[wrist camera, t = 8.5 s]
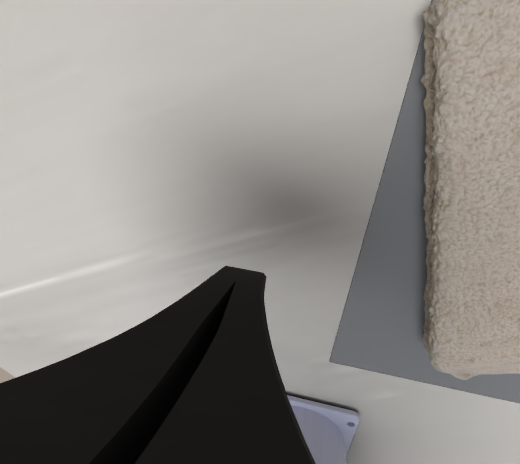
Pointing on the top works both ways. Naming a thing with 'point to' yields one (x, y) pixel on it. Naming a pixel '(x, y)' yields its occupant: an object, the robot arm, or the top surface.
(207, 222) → the top surface
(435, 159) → the washcloth
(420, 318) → the placemat
